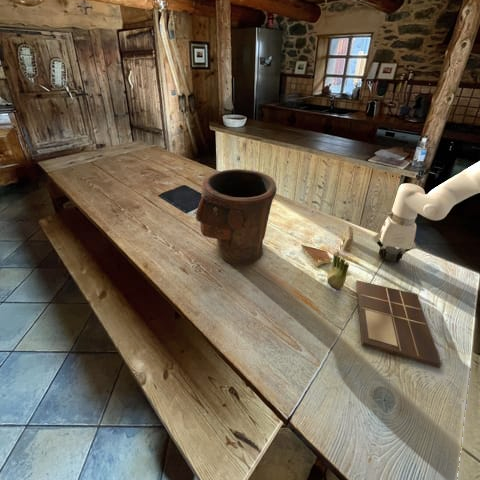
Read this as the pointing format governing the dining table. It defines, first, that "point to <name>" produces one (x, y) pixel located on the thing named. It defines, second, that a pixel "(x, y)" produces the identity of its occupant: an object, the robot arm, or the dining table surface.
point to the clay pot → (236, 213)
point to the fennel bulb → (337, 272)
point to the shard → (317, 255)
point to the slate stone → (391, 254)
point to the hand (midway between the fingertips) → (389, 257)
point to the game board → (395, 323)
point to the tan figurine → (347, 239)
